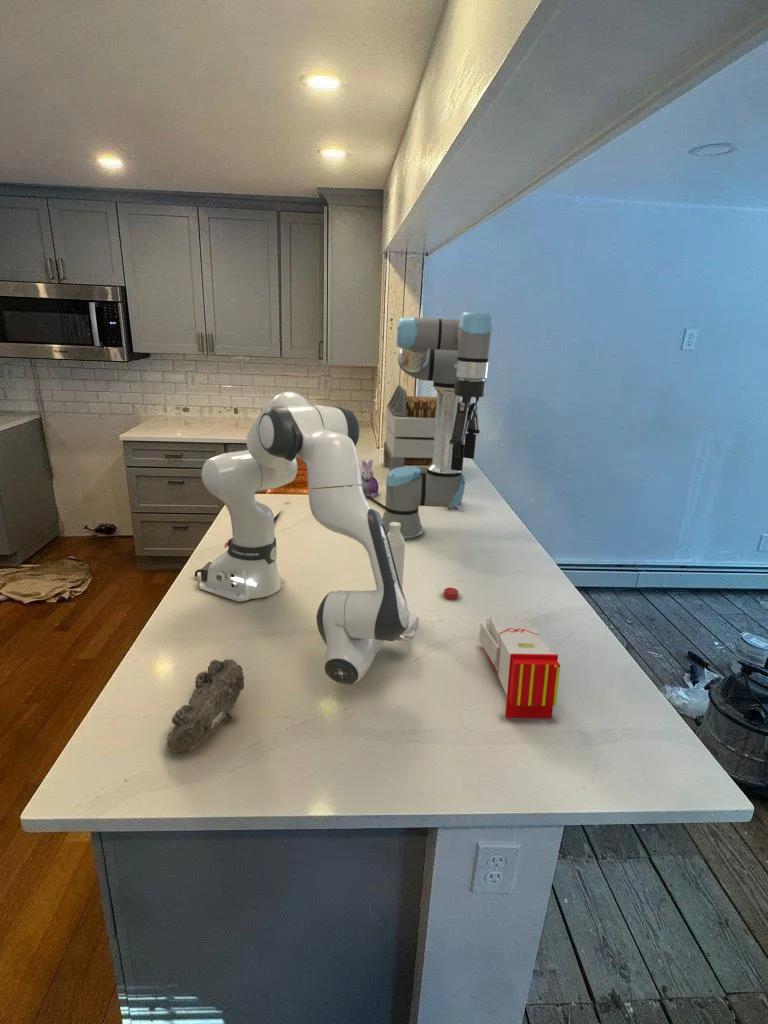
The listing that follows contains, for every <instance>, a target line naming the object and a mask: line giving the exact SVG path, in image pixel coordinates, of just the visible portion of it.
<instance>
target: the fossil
mask: <svg viewBox="0 0 768 1024" xmlns="http://www.w3.org/2000/svg"><path fill="white" fill-rule="evenodd" d="M243 670H244V669H243V667H242V665H240V664H237V662H236V661H235V660H234V659H232V658H231V659H227V658H226V659H224V660H223V661H222V660H217V659H212V660H211V661H210V663H209V665H208V666H207V671H201V672H199V673H198V674H197V675H196V676H195V680H194V684H195V685H194V687H195V689H194V690H193V693H192V694H191V697H190V698H189V700H188V704H184V705H182V706H181V707H180V709H177V710H176V711H175V713H174V715H173V716H172V718H171V723H172V724H173V727H172V730H171V731H170V732H168V734H167V738H166V741H167V742H166V745H167V749H168V750H169V751H173V752H174V753H176V754H178V753H182V752H188V751H189V752H192V751H193V750H195V748H196V747H197V746H199V744H200V743H201V742H203V741H204V740H205V739H206V738H207V737H208V736H209V735H210V734H211V733H212V732H214V730H215V729H217V727H218V726H219V724H220V722H221V721H222V720H223V719H224V718H225V716H226V717H227V719H229V720H233V717H232V715H230V714H229V710H230V709H231V708H234V706H235V704H236V703H237V702H238V699H239V697H240V695H241V693H242V691H243V690H245V689H244V688H245V675H244V671H243Z"/></svg>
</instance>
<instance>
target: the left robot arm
mask: <svg viewBox="0 0 768 1024" xmlns="http://www.w3.org/2000/svg"><path fill="white" fill-rule="evenodd" d="M359 438H360V424H359V421H358V418H357V416H356V415H355V414H354V412H352V410H350V409H348V408H345V407H342V406H337V405H333V406H329V405H321V404H309V402H308V400H307V399H306V398H305V397H304V396H302V395H301V394H299V393H297V392H294V391H283V392H280V393H278V394H276V395H275V396H274V397H273V398H272V399H271V400H270V401H269V402H268V403H267V404H266V405H265V407H264V408H263V409H262V410H261V411H260V414H259V415H258V417H257V418H256V420H255V421H254V423H253V425H252V427H251V428H250V430H249V431H248V433H247V435H246V441H245V442H246V443H245V444H246V447H247V449H245V450H238V451H231V452H224V453H221V454H217V455H214V456H212V457H209V458H207V459H206V460H205V462H204V463H203V466H202V468H201V476H200V477H201V481H202V484H203V486H204V488H205V489H206V491H207V492H208V493H210V495H212V496H214V497H216V498H217V499H219V500H220V501H221V502H222V503H223V504H224V505H225V507H226V508H227V509H226V510H227V511H228V514H229V516H230V523H231V530H232V531H231V532H232V537H231V538H229V539H228V540H227V542H224V543H223V546H224V549H226V548H227V547H228V548H227V550H226V551H224V552H223V553H221V554H220V555H219V556H217V557H216V558H215V559H214V560H213V561H208V562H207V563H206V564H204V566H203V567H201V568H199V569H197V570H195V571H194V577H195V578H197V577H198V573H200V581H199V583H198V584H199V585H198V589H200V590H202V591H205V592H208V593H211V594H214V595H217V596H219V597H223V598H226V599H229V600H232V601H235V602H238V603H241V602H245V601H249V600H253V599H262V598H266V597H269V596H273V595H275V594H276V593H278V592H279V590H281V588H282V581H281V578H280V575H279V569H278V565H277V557H278V555H277V553H278V551H277V549H278V548H277V538H276V537H275V523H274V518H275V514H274V512H273V510H272V509H271V508H270V507H269V506H268V505H266V504H264V503H262V502H259V501H256V497H255V494H256V493H257V492H262V491H267V490H268V491H269V490H273V489H277V488H280V487H283V486H285V485H288V484H289V483H290V484H291V483H292V482H293V481H294V480H295V479H296V477H297V474H298V469H299V468H298V467H299V466H298V461H297V458H299V459H301V460H302V461H303V462H304V463H305V466H306V472H307V473H306V475H307V489H308V504H309V507H310V512H311V515H312V516H313V518H314V519H315V521H316V522H317V523H318V524H319V525H320V526H322V527H324V528H325V529H327V530H329V531H331V532H333V533H336V534H339V535H343V536H345V537H348V538H350V539H352V540H354V541H356V542H357V543H359V544H360V545H361V546H362V547H363V548H364V549H365V551H366V552H367V556H368V559H369V563H370V567H371V571H372V575H373V579H374V583H375V587H376V589H374V590H331V591H329V592H328V593H327V594H326V595H325V596H324V597H323V598H322V601H321V602H320V604H319V606H318V609H317V611H316V626H317V630H318V633H319V635H320V636H321V639H322V640H323V643H324V644H325V645H326V652H325V657H324V662H323V668H324V672H325V674H326V676H327V677H328V678H329V679H330V680H332V681H333V682H335V683H336V684H340V685H353V684H356V683H357V682H359V681H360V680H361V679H363V677H364V676H365V675H366V673H367V672H368V671H369V669H370V667H371V665H372V663H373V662H374V660H375V658H376V657H375V656H376V654H377V653H378V652H379V650H380V649H381V647H382V645H383V644H384V641H386V642H394V641H399V642H406V641H410V640H413V638H414V636H415V634H416V632H417V631H418V629H419V616H418V614H416V613H414V612H409V611H410V610H409V606H408V602H407V600H406V597H405V593H404V591H403V587H402V588H401V585H400V582H399V578H398V574H397V570H396V566H395V562H394V558H393V555H392V551H391V547H390V543H389V539H388V536H387V532H386V529H385V526H384V523H383V520H382V519H383V517H382V516H381V514H380V513H379V512H378V511H377V510H375V509H374V508H372V507H371V505H370V504H369V502H368V501H367V498H365V495H364V492H363V486H360V485H362V476H361V470H362V469H361V465H360V461H359V455H358V452H357V448H356V446H357V444H358V441H359Z"/></svg>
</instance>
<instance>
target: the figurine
mask: <svg viewBox="0 0 768 1024" xmlns="http://www.w3.org/2000/svg"><path fill="white" fill-rule="evenodd" d="M373 463H374V461H373V459H370V460H369V461H368V462H366V461H365V460H362V461H361V469H360V470H361V476H362V485H359V486H363V492H364V495H365V498H366V499H368V498H367V497H366V496H367V495H368V496H370V497H371V498H374V497H376V496H378V494H379V489H380V488H379V487H380V486H379V482H378V480H377V479H376V478H375V477H374V472H373V468H372V466H373Z"/></svg>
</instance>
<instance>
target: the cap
mask: <svg viewBox="0 0 768 1024" xmlns="http://www.w3.org/2000/svg"><path fill="white" fill-rule="evenodd" d="M443 597H444V598H445V599H447V600H452V601H454V600H456V599H458V597H459V590H458V589H457V588H455V587H445V588H444V590H443Z"/></svg>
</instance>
